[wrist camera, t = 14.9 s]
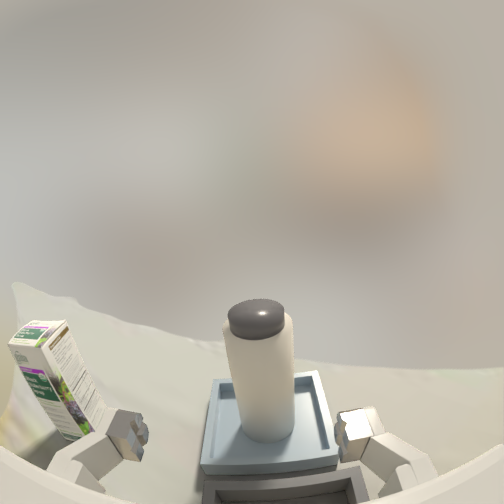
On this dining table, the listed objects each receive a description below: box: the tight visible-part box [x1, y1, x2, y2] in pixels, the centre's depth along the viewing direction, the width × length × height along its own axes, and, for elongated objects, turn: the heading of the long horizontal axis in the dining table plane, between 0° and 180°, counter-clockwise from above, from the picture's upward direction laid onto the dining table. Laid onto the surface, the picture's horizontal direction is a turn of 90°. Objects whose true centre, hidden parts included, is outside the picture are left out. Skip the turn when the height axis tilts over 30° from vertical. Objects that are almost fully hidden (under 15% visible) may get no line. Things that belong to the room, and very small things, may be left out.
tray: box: [200, 370, 339, 475], centre depth 26 cm, size 13×13×2 cm
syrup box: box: [8, 320, 108, 441], centre depth 23 cm, size 6×6×14 cm
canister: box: [222, 299, 295, 443], centre depth 24 cm, size 6×6×14 cm
